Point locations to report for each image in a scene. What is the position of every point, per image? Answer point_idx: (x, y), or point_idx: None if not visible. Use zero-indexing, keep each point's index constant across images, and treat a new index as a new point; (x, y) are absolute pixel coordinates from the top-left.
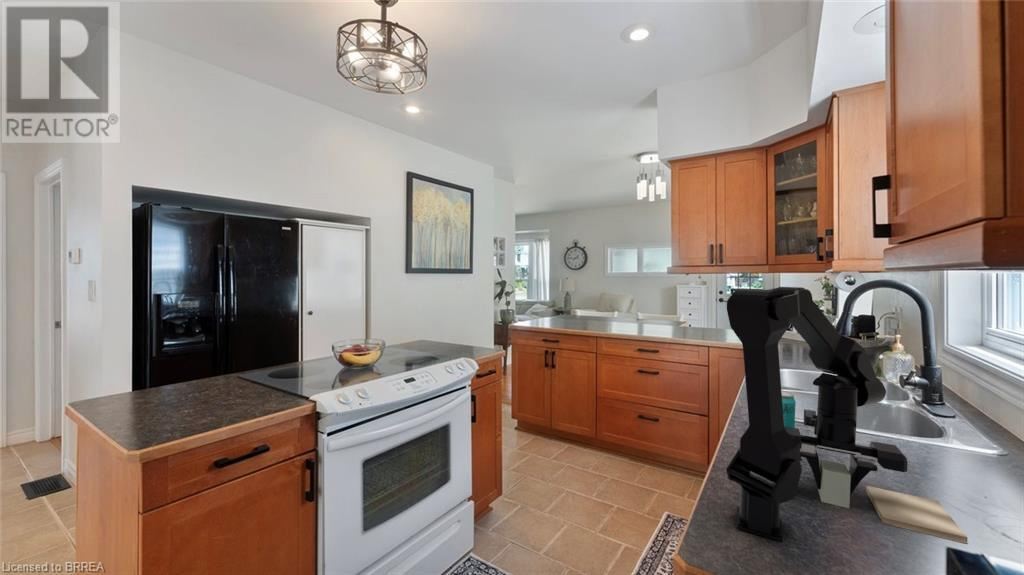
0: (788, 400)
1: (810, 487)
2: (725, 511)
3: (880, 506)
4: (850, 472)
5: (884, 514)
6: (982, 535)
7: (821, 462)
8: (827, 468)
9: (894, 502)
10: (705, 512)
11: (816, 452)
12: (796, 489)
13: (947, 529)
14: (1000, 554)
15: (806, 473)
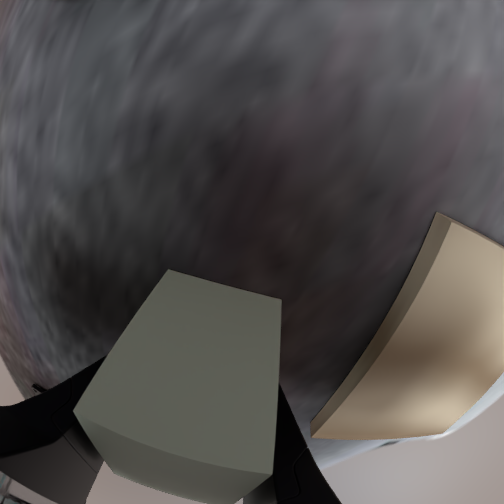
0: None
1: (139, 254)
2: (26, 381)
3: (357, 397)
4: (257, 488)
5: (328, 428)
6: (501, 379)
7: (96, 441)
8: (131, 475)
9: (439, 355)
10: (15, 380)
11: (52, 501)
12: (85, 502)
13: (434, 427)
14: (459, 423)
15: (167, 59)
